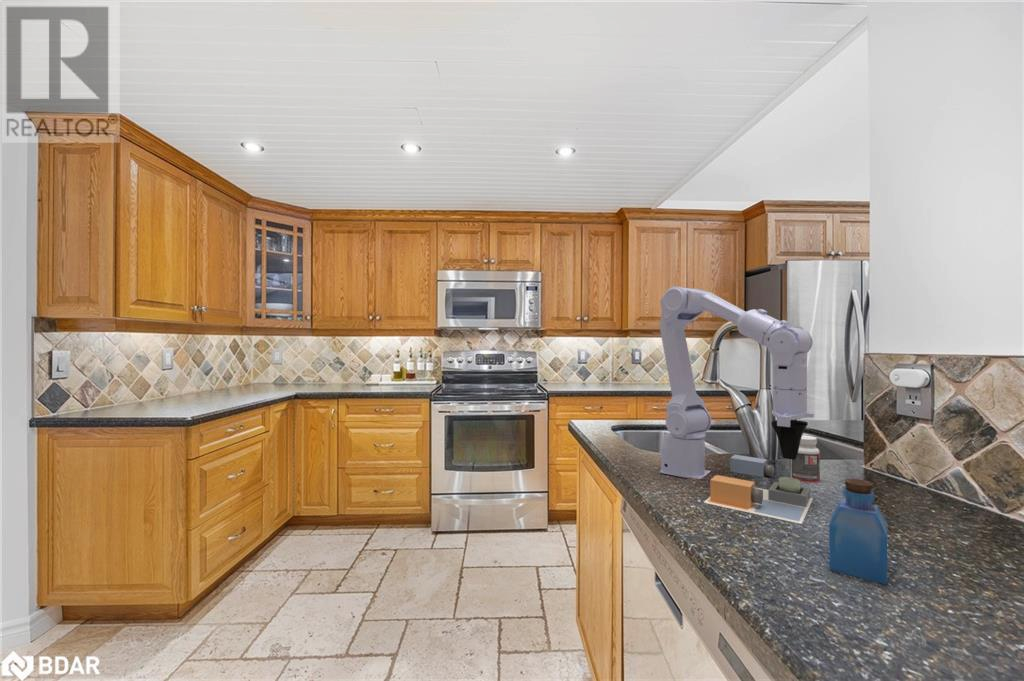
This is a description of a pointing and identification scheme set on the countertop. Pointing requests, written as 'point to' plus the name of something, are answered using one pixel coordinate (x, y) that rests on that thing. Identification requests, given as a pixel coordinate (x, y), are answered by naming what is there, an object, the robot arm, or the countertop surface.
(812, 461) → the pill bottle
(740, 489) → the orange marker
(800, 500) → the button housing
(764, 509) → the sheet
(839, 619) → the countertop surface
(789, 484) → the button
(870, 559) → the perfume bottle
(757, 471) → the grey-capped blue block
